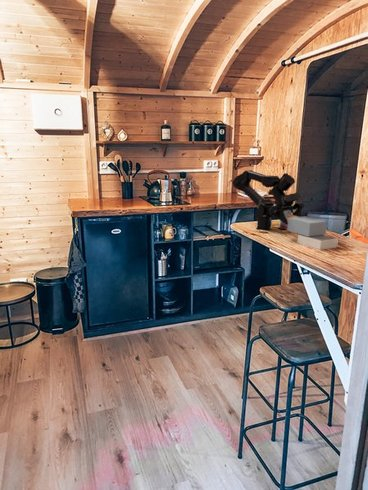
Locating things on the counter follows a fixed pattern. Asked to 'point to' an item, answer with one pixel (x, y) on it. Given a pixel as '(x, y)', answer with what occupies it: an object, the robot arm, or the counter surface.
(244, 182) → the robot arm
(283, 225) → the snack box
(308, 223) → the grey boxy piece
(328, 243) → the carton base
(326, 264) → the counter surface
